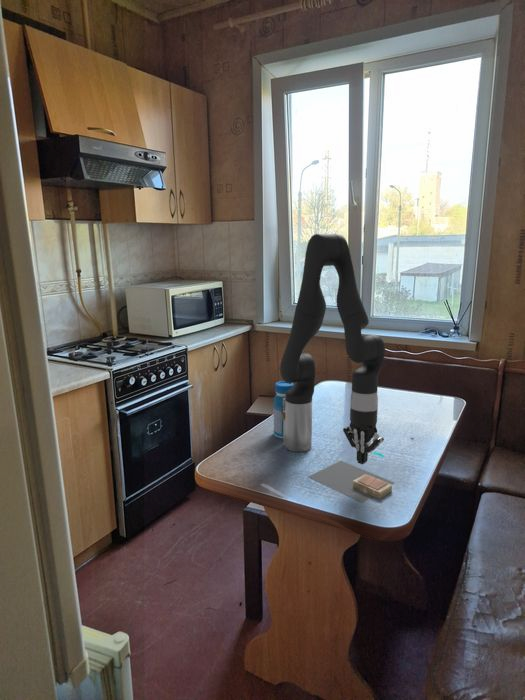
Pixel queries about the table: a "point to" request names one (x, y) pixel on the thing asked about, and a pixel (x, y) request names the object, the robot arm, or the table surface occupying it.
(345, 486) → the rubber mat
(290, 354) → the robot arm
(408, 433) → the table surface
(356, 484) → the maple picture frame
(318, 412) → the table surface
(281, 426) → the beverage bottle
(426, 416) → the table surface
